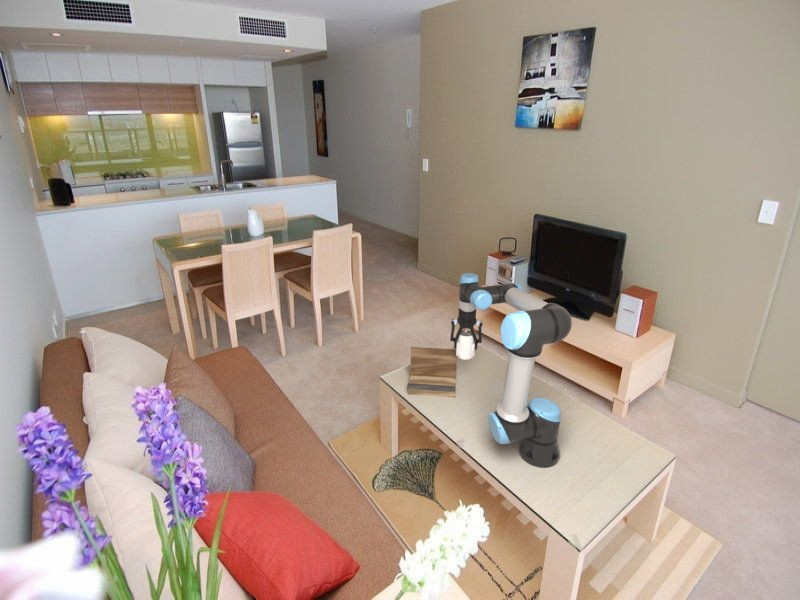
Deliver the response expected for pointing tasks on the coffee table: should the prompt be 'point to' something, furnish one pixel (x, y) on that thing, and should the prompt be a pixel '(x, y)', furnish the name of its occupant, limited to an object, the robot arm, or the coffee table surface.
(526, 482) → the coffee table surface
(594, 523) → the coffee table surface
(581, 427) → the coffee table surface
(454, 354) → the brown piece
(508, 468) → the coffee table surface
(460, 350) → the can
